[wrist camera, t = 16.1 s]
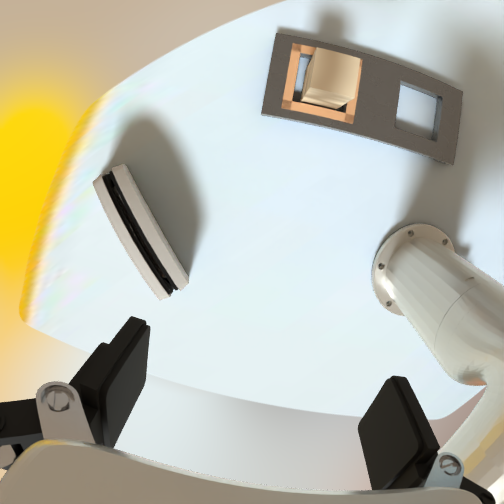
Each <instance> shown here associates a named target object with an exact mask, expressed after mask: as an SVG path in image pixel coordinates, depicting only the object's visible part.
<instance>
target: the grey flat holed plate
mask: <svg viewBox="0 0 504 504" xmlns="http://www.w3.org/2000/svg"><path fill="white" fill-rule="evenodd" d="M317 47H318V48H322V49H327V50H331V51H335V52H339V53H342V54H346V55H350V56H353V57H357V58H360V65H359V72H358V79H357V85H356V92H355V98H354V99H352V100H351V101H349V102H347V103H346V104H344V108H343V112H339V111H335V110H331V109H327V108H322V107H318V106H313V105H309V104H304V103H299V102H294V101H292V98H293V93H294V87H295V81H296V75H297V70H298V64H299V58H300V57H303V58H308V59H311V58H312V56H313V54H314V52H315V50H316V48H317ZM400 84H401V85H403V86H406V87H409V88H412V89H414V90H417V91H419V92H422V93H425V94H427V95H430V96H432V97H434V98H437V106H436V114H435V122H434V129H433V135H432V140H429V139H426V138H424V137H421V136H418V135H415V134H412V133H409V132H406V131H403V130H400V129H397V128H394V127H395V120H396V114H397V107H398V99H399V92H400ZM462 95H463V92H462V91H460V90H458V89H456V88H454V87H452V86H450V85H448V84H445V83H443V82H441V81H439V80H436V79H434V78H432V77H429V76H427V75H424V74H422V73H420V72H417V71H414V70H412V69H409V68H407V67H404V66H401V65H398V64H396V63H393V62H390V61H387V60H384V59H381V58H378V57H375V56H372V55H368V54H365V53H362V52H358V51H355V50H351V49H348V48H344V47H340V46H336V45H332V44H328V43H324V42H319V41H315V40H310V39H305V38H300V37H295V36H290V35H284V34H278V33H276V37H275V42H274V47H273V53H272V58H271V63H270V69H269V74H268V79H267V85H266V90H265V96H264V101H263V107H262V112H261V115H263V116H269V117H274V118H280V119H285V120H291V121H296V122H301V123H305V124H310V125H315V126H319V127H324V128H328V129H332V130H336V131H340V132H344V133H348V134H352V135H356V136H360V137H364V138H367V139H371V140H374V141H378V142H381V143H385V144H388V145H391V146H395V147H398V148H401V149H404V150H407V151H410V152H413V153H416V154H419V155H422V156H425V157H428V158H431V159H434V160H437V161H439V162H442V163H445V164H448V165H453V164H454V158H455V152H456V146H457V139H458V132H459V124H460V116H461V106H462Z"/></svg>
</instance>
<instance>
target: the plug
mask: <svg viewBox="0 0 504 504" xmlns="http://www.w3.org/2000/svg"><path fill="white" fill-rule="evenodd" d="M359 65H360V58H357V57H353V56H350V55H346V54H342V53H339V52H335V51H331V50H327V49H322V48H318V47H317V48H316V50H315V52H314V54H313V56H312V58H311V61H310V63H309V65H308V67H307V69H306V71H305V77H304V83H303V89H302V94H301V100H300V103H304V104H309V105H313V106H318V107H322V108H327V109H331V110H336V109H338V108H339V107H341V106H343V105H344V104H346V103H347V102H349V101H351V100H352V99H354V98H355V92H356V85H357V79H358V72H359Z"/></svg>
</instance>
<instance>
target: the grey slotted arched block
mask: <svg viewBox="0 0 504 504" xmlns="http://www.w3.org/2000/svg"><path fill="white" fill-rule="evenodd" d="M109 173H110V174H101V175H100V176H99V177H98V178H96V179H95V180H94V181H93V186H94V188H95V191H96V193H97V195H98V198H99V200H100V202H101V204H102V206H103V209H104V211H105V213H106V215H107V217H108V219H109V221H110V223H111V225H112V227H113V228H114V230H115V232H116V234H117V236H118V238H119V240H120V241H121V243H122V245H123V246H124V248H125V250H126V252H127V253H128V255H129V257H130V258H131V260H132V262H133V263H134V265H135V266H136V268H137V269H138V271H139V272H140V274H141V275H142V277H143V279H144V280H145V281H146V283H147V284H148V286H149V287H150V288H151V290H152V291H153V293H154V294H155V295H156V297H157V298H158V299H159V300H163V299H166V298H168V297H170V296H171V293H172V292H173V289H175V290H178V289H179V290H180V291H181V290H182V289H183V288H184V287H185V286H186V285H187V284H188V283H189V277H188V275H187V274H186V272H185V270H184V269H183V267H182V265H181V263H180V262H179V260H178V258H177V257H176V255H175V253H174V251H173V250H172V248H171V246H170V245H169V243H168V241H167V239H166V238H165V236H164V234H163V232H162V230H161V229H160V227H159V225H158V223H157V222H156V220H155V218H154V216H153V214H152V213H151V211H150V209H149V207H148V205H147V203H146V202H145V200H144V198H143V196H142V194H141V192H140V190H139V189H138V187H137V185H136V183H135V181H134V179H133V177H132V175H131V173H130V171H129V169H128V168H127V166H126V165H124V164H121V165H118V166H115V167H112V171H110V172H109Z"/></svg>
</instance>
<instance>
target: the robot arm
mask: <svg viewBox="0 0 504 504" xmlns="http://www.w3.org/2000/svg"><path fill="white" fill-rule="evenodd" d="M409 231H410V232H409ZM408 232H409V233H408ZM380 263H381V265H379V264H380ZM378 265H379V266H378ZM372 286H373V290H374V293H375V295H376V297H377V299H378V300H379V302H380V303H381V304H382V306H383V307H384V308H385V309H387V310H388V311H390V312H391V313H394V314H396V315H400V316H405V317H406V318H407V319H408V321H409V322H410V323H411V325H412V326H413V328H414V329H415V330H416V332H417V333H418V334H419V336H420V337H421V339H422V340H423V341H424V343H425V344H426V346H427V347H428V348H429V350H430V351H431V353H432V354H433V356H434V357H435V358H436V360H437V361H438V363H439V364H440V365H441V367H442V368H443V370H444V371H445V372H446V373H447V375H448V376H449V377H451V378H452V379H453V380H455V381H457V382H459V383H461V384H465V385H471V386H483V385H487V387H486V390H485V392H484V394H483V396H482V398H481V399H480V401H479V402H478V403H477V405H476V406H475V408H474V409H473V411H472V413H471V414H470V415H469V417H468V418H467V419H466V420H465V422H464V423H463V424H462V425H461V426H460V428H459V429H458V430H457V431H456V432H455V434H454V435H453V436H452V437H451V438H450V439H449V441H448V442H447V443H446V444H445V445H444V446H443V447H442V448H441V449H440V446H439V444H438V442H437V439H436V437H435V435H434V433H433V431H432V429H431V427H430V424H429V422H428V420H427V418H426V416H425V414H424V412H423V410H422V408H421V406H420V404H419V402H418V400H417V398H416V396H415V394H414V392H413V390H412V388H411V386H410V384H409V382H408V380H407V378H406V377H401V376H392V377H391V378H390V379H387V380H386V381H385V383H384V385H383V386H382V388H381V390H380V391H379V393H378V395H377V396H376V398H375V399H374V401H373V403H372V404H371V406H370V407H369V409H368V410H367V412H366V413H365V415H364V416H363V418H362V419H361V421H360V423H359V425H358V433H359V437H360V440H361V445H362V449H363V453H364V457H365V461H366V465H367V470H368V474H369V478H370V483H371V487H372V490H368V491H337V490H336V491H335V490H312V489H297V488H287V487H277V486H268V485H262V484H255V483H248V482H241V481H236V480H230V479H225V478H220V477H215V476H210V475H205V474H202V473H197V472H193V471H189V470H185V469H181V468H177V467H173V466H170V465H166V464H163V463H159V462H155V461H152V460H149V459H146V458H143V457H139V456H136V455H133V454H130V453H126V452H123V451H120V450H117V449H114V446H115V444H116V441H117V440H118V437H119V435H120V433H121V431H122V429H123V427H124V425H125V423H126V421H127V419H128V417H129V415H130V413H131V411H132V409H133V407H134V405H135V403H136V401H137V399H138V397H139V395H140V393H141V391H142V389H143V387H144V384H145V381H146V371H147V358H148V347H149V337H150V326H148V325H146V321H145V320H142V319H139V318H136V317H133V316H131V317H130V318H129V319H128V321H127V322H126V323H125V324H124V326H123V327H122V328H121V329H120V331H119V332H118V333H117V335H116V336H115V337H114V338H113V340H112V341H111V342H110V344H107V343H104V342H103V343H101V344H100V345H99V346H98V347H97V348H96V350H95V351H94V352H93V353H92V355H91V356H90V357H89V358H88V360H87V361H86V362H85V363H84V365H83V366H82V367H81V368H80V370H79V371H78V372H77V374H76V375H75V376H74V377H73V379H72V380H71V381H70V383H69V384H67V383H63V382H49V383H46V384H44V385H42V386H41V387H40V388H39V389H38V391H37V393H36V398H34V399H26V400H19V401H11V402H1V403H0V469H1V468H2V469H5V470H7V472H6V473H5V475H4V476H3V478H2V479H1V481H0V504H504V286H503V285H502V284H501V283H499V282H498V281H496V280H495V279H493V278H492V277H491V276H489V275H488V274H486V273H485V272H483V271H482V270H480V269H479V268H477V267H476V266H474V265H473V264H471V263H470V262H468V261H467V260H465V259H464V258H462V257H460V256H459V255H457V254H456V253H455V250H454V247H453V244H452V243H451V241H450V239H449V238H448V237H447V235H446V234H445V233H444V232H442V231H441V230H439V229H438V228H436V227H434V226H431V225H428V224H412V225H408V226H405V227H403V228H401V229H399V230H398V231H396V232H395V233H393V234H392V235H391V236H390V237H389V238H388V239H387V240H386V241H385V242H384V244H383V245H382V246H381V248H380V249H379V251H378V253H377V255H376V257H375V260H374V263H373V268H372ZM387 301H388V302H387ZM439 449H440V451H439V452H437V451H438V450H439Z"/></svg>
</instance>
